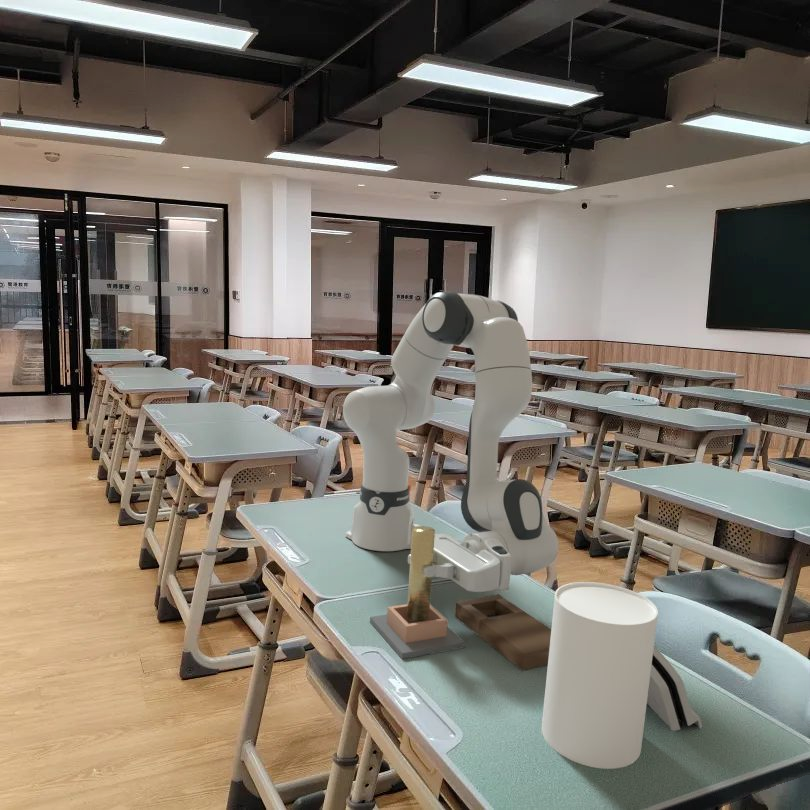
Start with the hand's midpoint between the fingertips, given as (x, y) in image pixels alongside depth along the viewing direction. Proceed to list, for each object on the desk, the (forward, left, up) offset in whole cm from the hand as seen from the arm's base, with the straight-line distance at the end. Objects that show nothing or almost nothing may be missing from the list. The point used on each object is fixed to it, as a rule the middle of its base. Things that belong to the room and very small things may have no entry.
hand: (416, 565), depth 121 cm
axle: (-1, +1, -9) cm, 10 cm away
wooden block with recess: (-7, +16, -13) cm, 22 cm away
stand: (-1, 0, -13) cm, 13 cm away
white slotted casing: (+4, +40, -13) cm, 42 cm away
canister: (+18, +31, -13) cm, 39 cm away
